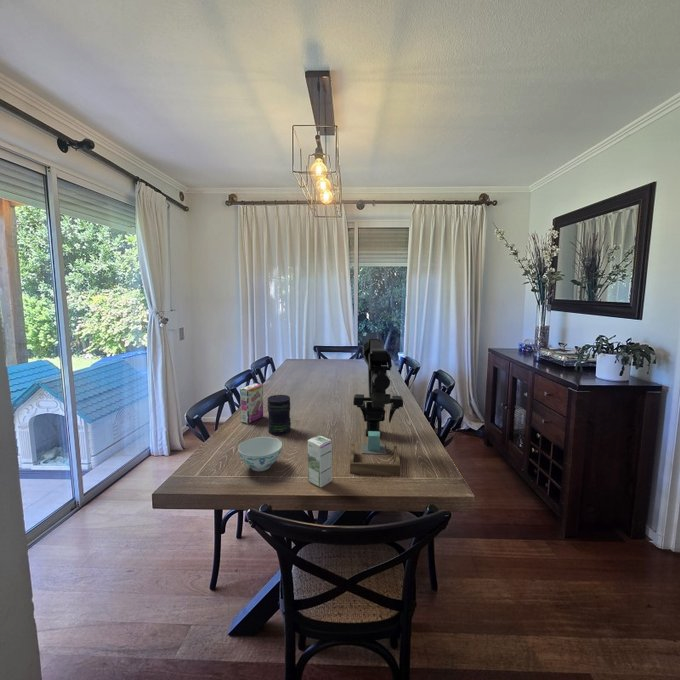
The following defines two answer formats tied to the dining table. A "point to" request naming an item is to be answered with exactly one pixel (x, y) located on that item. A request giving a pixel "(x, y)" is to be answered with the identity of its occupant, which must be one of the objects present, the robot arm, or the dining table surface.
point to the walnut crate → (375, 466)
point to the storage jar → (279, 414)
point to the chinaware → (260, 452)
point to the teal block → (373, 441)
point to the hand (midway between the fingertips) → (377, 421)
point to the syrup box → (319, 461)
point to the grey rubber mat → (365, 451)
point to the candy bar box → (251, 403)
